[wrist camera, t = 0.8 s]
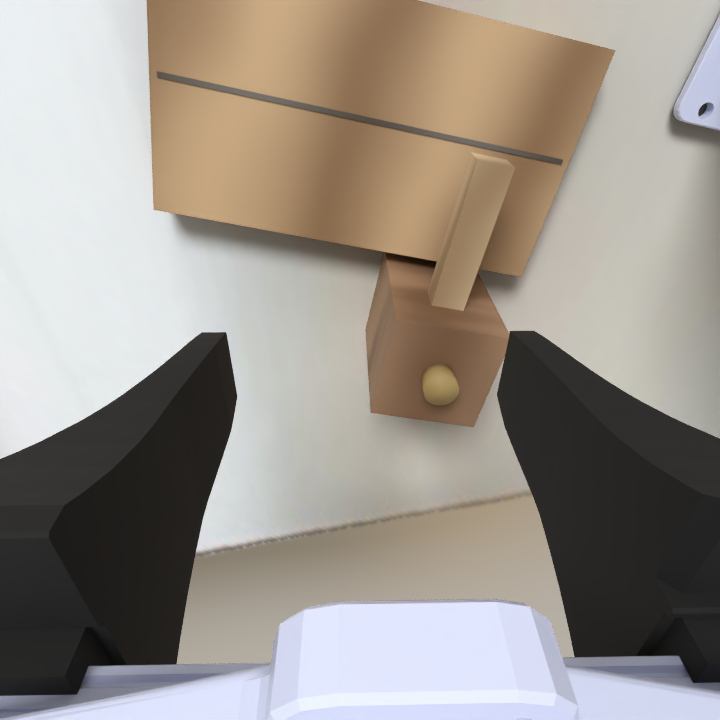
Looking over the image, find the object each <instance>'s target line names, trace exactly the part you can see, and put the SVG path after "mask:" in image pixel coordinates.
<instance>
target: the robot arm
mask: <svg viewBox="0 0 720 720" xmlns="http://www.w3.org/2000/svg"><path fill="white" fill-rule="evenodd" d="M705 103H707V109H706V111H705V112H704V114H703V115H701V116H698V111H699V109H700V107H701V106H702V105H703V104H705ZM674 116H675V118H676V119H677V120H679V121H682V122H685V123H689V124H693V125H698V126H702V127H706V128H710V129H715V130H719V131H720V15H719V17H718V19H717V21H716V23H715V25H714V27H713V29H712V31H711V33H710V35H709V37H708V39H707V41H706V43H705V45H704V47H703V49H702V51H701V53H700V55H699V57H698V59H697V61H696V63H695V65H694V67H693V69H692V71H691V73H690V75H689V77H688V79H687V81H686V83H685V85H684V87H683V89H682V91H681V93H680V95H679V97H678V99H677V101H676V103H675V106H674ZM497 396H498V401H499V405H500V409H501V414H502V417H503V421H504V425H505V428H506V431H507V434H508V436H509V439H510V441H511V444H512V446H513V449H514V451H515V454H516V456H517V458H518V461H519V463H520V466H521V468H522V470H523V473H524V475H525V478H526V480H527V483H528V485H529V487H530V490H531V492H532V495H533V497H534V500H535V503H536V505H537V508H538V511H539V513H540V517H541V521H542V524H543V528H544V531H545V534H546V538H547V542H548V545H549V549H550V553H551V556H552V560H553V564H554V568H555V572H556V576H557V580H558V584H559V587H560V592H561V596H562V600H563V605H564V609H565V614H566V618H567V623H568V627H569V631H570V636H571V641H572V646H573V651H574V656H575V657H574V658H573V657H572V658H571V657H570V658H562V655H561V652H560V649H559V646H558V644H557V641H556V637H555V634H554V632H553V629H552V626H551V623H550V620H549V619H548V618H546V617H544V616H543V615H542V614H540V613H538V612H537V611H535V610H534V609H533V608H531V607H529V606H527V605H526V604H524V603H518V602H511V601H504V600H497V599H465V600H401V601H399V600H397V601H339V602H333V603H327V604H320V605H314V606H308V607H306V608H305V609H303V610H301V611H300V612H298V613H296V614H295V615H293V616H291V617H290V618H288V619H286V620H285V621H284V622H282V623H281V624H280V625H279V628H278V631H277V634H276V637H275V640H274V644H273V653H272V662H271V663H232V664H231V663H229V664H179V665H178V664H176V663H177V656H178V649H179V642H180V636H181V630H182V624H183V618H184V612H185V606H186V601H187V595H188V589H189V584H190V579H191V573H192V568H193V563H194V558H195V553H196V548H197V543H198V539H199V534H200V529H201V524H202V520H203V516H204V512H205V509H206V505H207V502H208V499H209V496H210V493H211V490H212V487H213V484H214V481H215V478H216V475H217V472H218V469H219V466H220V463H221V460H222V457H223V454H224V451H225V448H226V444H227V441H228V438H229V435H230V432H231V428H232V423H233V418H234V412H235V406H236V400H237V393H236V387H235V381H234V375H233V369H232V364H231V358H230V352H229V346H228V340H227V334H226V332H220V333H201V334H199V335H198V336H197V337H195V338H194V339H193V340H192V341H190V342H189V343H188V344H187V345H186V346H184V347H183V348H182V349H181V350H180V351H179V352H177V353H176V354H175V355H174V356H173V357H171V358H170V359H169V360H168V361H166V362H165V363H164V364H163V365H162V366H160V367H159V368H158V369H157V370H155V371H154V372H153V373H152V374H150V375H149V376H148V377H146V378H145V379H144V380H142V381H141V382H139V383H138V384H137V385H135V386H134V387H133V388H131V389H130V390H129V391H127V392H126V393H125V394H123V395H122V396H120V397H119V398H117V399H116V400H114V401H113V402H111V403H110V404H108V405H107V406H105V407H103V408H102V409H100V410H98V411H97V412H95V413H93V414H92V415H90V416H88V417H87V418H85V419H83V420H81V421H80V422H78V423H76V424H74V425H72V426H70V427H68V428H66V429H64V430H62V431H60V432H58V433H56V434H54V435H52V436H51V437H49V438H47V439H45V440H43V441H41V442H39V443H36V444H34V445H32V446H30V447H28V448H25V449H23V450H21V451H19V452H16V453H14V454H12V455H9V456H7V457H4V458H2V459H0V720H720V439H719V438H717V437H715V436H712V435H710V434H708V433H705V432H703V431H701V430H698V429H696V428H694V427H691V426H689V425H687V424H685V423H682V422H680V421H678V420H676V419H674V418H672V417H670V416H668V415H666V414H664V413H662V412H660V411H658V410H656V409H654V408H653V407H651V406H649V405H647V404H645V403H643V402H641V401H639V400H638V399H636V398H634V397H632V396H631V395H629V394H627V393H626V392H624V391H622V390H621V389H619V388H618V387H616V386H614V385H613V384H611V383H609V382H608V381H606V380H605V379H603V378H602V377H600V376H599V375H597V374H596V373H594V372H593V371H591V370H590V369H588V368H587V367H586V366H584V365H583V364H581V363H580V362H578V361H577V360H576V359H574V358H573V357H571V356H570V355H569V354H567V353H566V352H564V351H563V350H562V349H560V348H559V347H557V346H556V345H555V344H553V343H552V342H550V341H549V340H548V339H546V338H545V337H543V336H542V335H540V334H538V333H537V332H535V331H510V335H509V339H508V344H507V349H506V354H505V359H504V364H503V368H502V373H501V378H500V383H499V388H498V393H497Z"/></svg>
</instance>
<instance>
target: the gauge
mask: <svg viewBox="0 0 720 720" xmlns="http://www.w3.org/2000/svg"><path fill="white" fill-rule="evenodd" d="M514 170H515V167H514V166H513V165H512V164H511V163H510V162H509V161H507V160H506V159H501V158H496V157H492V156H487V155H482V154H478V153H473V152H471V153H470V156H469V159H468V162H467V166H466V169H465V172H464V175H463V179H462V182H461V185H460V188H459V192H458V195H457V198H456V201H455V205H454V208H453V211H452V214H451V218H450V221H449V224H448V227H447V231H446V234H445V237H444V240H443V244H442V247H441V250H440V253H439V257H438V260H437V261H432V260H426V259H421V258H415V257H410V256H404V255H399V254H393V253H388V252H384V255H383V259H382V263H381V268H380V272H379V276H378V280H377V284H376V288H375V292H374V297H373V301H372V305H371V309H370V313H369V317H368V322H367V326H366V343H367V359H368V376H369V392H370V409H371V413H377V414H384V415H391V416H399V417H406V418H413V419H420V420H427V421H434V422H442V423H449V424H456V425H463V426H470V427H474V425H475V422H476V420H477V418H478V416H479V413H480V411H481V409H482V407H483V404H484V402H485V400H486V397H487V395H488V393H489V391H490V388H491V386H492V384H493V381H494V379H495V377H496V375H497V372H498V370H499V368H500V366H501V363H502V361H503V359H504V356H505V354H506V349H507V344H508V339H509V335H510V334H509V333H508V331H507V329H506V327H505V325H504V323H503V321H502V319H501V317H500V315H499V313H498V311H497V309H496V307H495V305H494V303H493V302H492V300H491V298H490V296H489V294H488V292H487V290H486V288H485V286H484V284H483V282H482V280H481V278H480V276H479V274H478V270H479V267H480V264H481V261H482V258H483V256H484V253H485V250H486V247H487V245H488V242H489V239H490V236H491V234H492V231H493V228H494V225H495V222H496V220H497V217H498V214H499V211H500V209H501V206H502V203H503V200H504V197H505V195H506V192H507V189H508V186H509V184H510V181H511V178H512V175H513V173H514Z"/></svg>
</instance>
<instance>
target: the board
mask: <svg viewBox="0 0 720 720" xmlns="http://www.w3.org/2000/svg"><path fill="white" fill-rule="evenodd" d="M147 20H148V51H149V81H150V111H151V142H152V172H153V203H154V210H159V211H164V212H170V213H175V214H180V215H186V216H191V217H197V218H202V219H208V220H213V221H219V222H224V223H230V224H235V225H241V226H246V227H251V228H257V229H262V230H268V231H273V232H279V233H284V234H290V235H295V236H301V237H306V238H312V239H317V240H322V241H328V242H333V243H339V244H344V245H350V246H355V247H361V248H366V249H372V250H377V251H383V252H388V253H393V254H399V255H404V256H410V257H415V258H421V259H426V260H432V261H437V260H438V257H439V253H440V250H441V247H442V244H443V240H444V237H445V234H446V231H447V227H448V224H449V221H450V218H451V214H452V211H453V208H454V205H455V201H456V198H457V195H458V192H459V188H460V185H461V182H462V179H463V175H464V172H465V169H466V166H467V162H468V159H469V156H470V153H471V152H473V153H478V154H482V155H487V156H492V157H496V158H501V159H506V160H507V161H509V162H510V163H511V164H512V165H513V166H514V167H515V170H514V173H513V175H512V178H511V181H510V184H509V186H508V189H507V192H506V195H505V197H504V200H503V203H502V206H501V209H500V211H499V214H498V217H497V220H496V222H495V225H494V228H493V231H492V234H491V236H490V239H489V242H488V245H487V247H486V250H485V253H484V256H483V258H482V261H481V264H480V267H479V269H481V270H486V271H492V272H497V273H503V274H508V275H514V276H519V277H521V276H522V274H523V271H524V269H525V267H526V264H527V262H528V259H529V257H530V255H531V252H532V250H533V247H534V245H535V243H536V240H537V238H538V235H539V233H540V231H541V228H542V226H543V223H544V221H545V219H546V216H547V214H548V211H549V209H550V207H551V204H552V202H553V199H554V197H555V195H556V192H557V190H558V187H559V185H560V183H561V180H562V178H563V175H564V173H565V170H566V168H567V166H568V163H569V161H570V158H571V156H572V154H573V151H574V149H575V146H576V144H577V142H578V139H579V137H580V134H581V132H582V130H583V127H584V125H585V122H586V120H587V118H588V115H589V113H590V110H591V108H592V106H593V103H594V101H595V98H596V96H597V94H598V91H599V89H600V86H601V84H602V82H603V79H604V77H605V74H606V72H607V70H608V67H609V65H610V62H611V60H612V58H613V55H614V53H615V50H612V49H608V48H604V47H600V46H596V45H592V44H588V43H584V42H580V41H576V40H572V39H568V38H564V37H560V36H556V35H552V34H548V33H544V32H540V31H536V30H532V29H528V28H525V27H521V26H517V25H513V24H509V23H505V22H501V21H497V20H493V19H489V18H485V17H481V16H477V15H473V14H469V13H465V12H461V11H457V10H453V9H449V8H445V7H441V6H437V5H433V4H429V3H425V2H422V1H418V0H147Z"/></svg>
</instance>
